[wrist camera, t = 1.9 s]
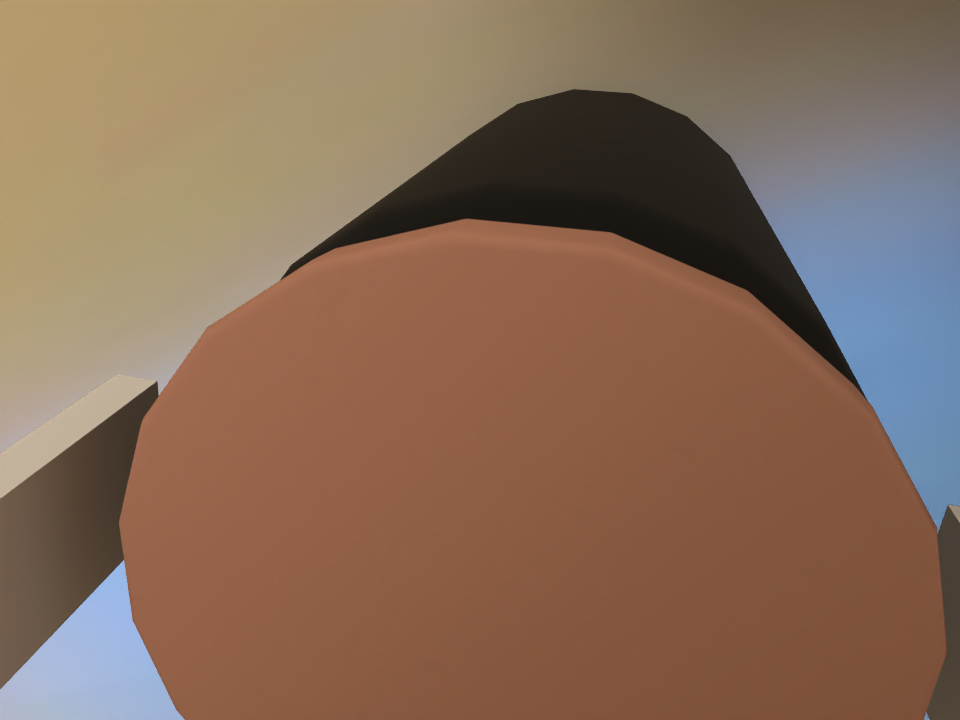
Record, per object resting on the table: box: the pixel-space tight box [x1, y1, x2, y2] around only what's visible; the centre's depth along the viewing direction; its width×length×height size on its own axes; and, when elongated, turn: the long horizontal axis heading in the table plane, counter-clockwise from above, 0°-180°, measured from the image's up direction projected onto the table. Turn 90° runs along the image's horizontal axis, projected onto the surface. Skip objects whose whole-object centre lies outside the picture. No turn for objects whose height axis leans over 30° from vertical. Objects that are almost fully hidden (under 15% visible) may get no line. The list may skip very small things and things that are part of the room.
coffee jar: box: [119, 89, 947, 720], centre depth 19 cm, size 11×11×18 cm
